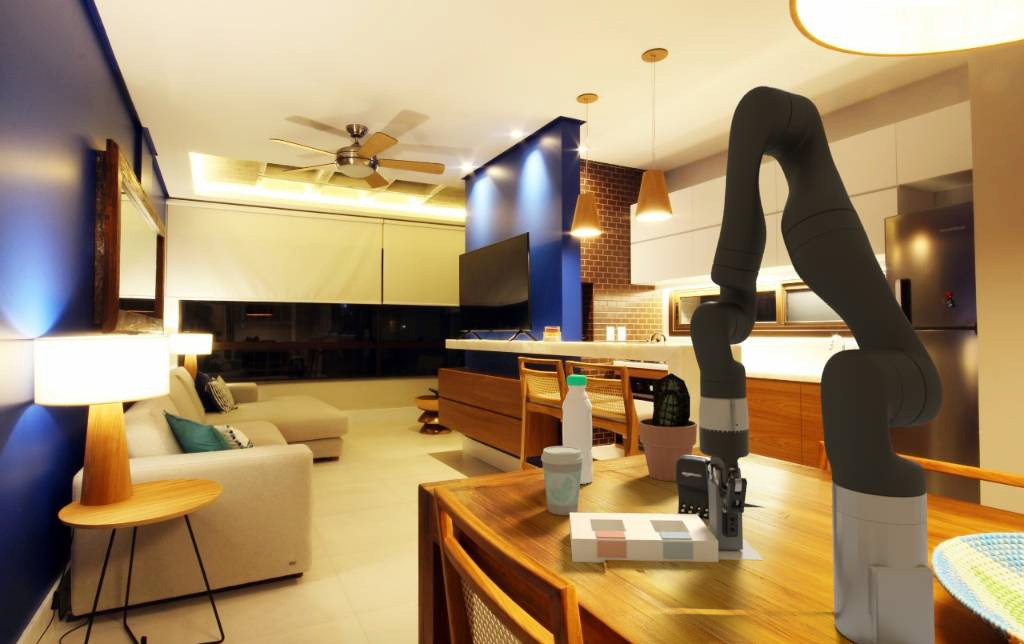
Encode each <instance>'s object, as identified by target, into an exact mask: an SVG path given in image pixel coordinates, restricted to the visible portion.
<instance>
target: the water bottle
mask: <svg viewBox="0 0 1024 644" xmlns="http://www.w3.org/2000/svg"><path fill="white" fill-rule="evenodd" d="M587 379H588V378H587V376H586V375H582V374H571V375H568V376H567V377H566V386H567V388H568V391H567V393H566V395H565V399H564V400H563V402H562V406H561V408H562V428H561V429H562V446H570V447H576V448H579V449H580V450H581V452H582V455H583V459H584V461H583V462H582V470H581V480H580V484H582V485H588V484H591V482H592V481H593V480H594V471H593V460H594V459H593V457H594V455H593V451H592V450H593V417H592V410H593V405H592V402H591V400H590V399H589V396H588V393H587V391H586V388H587V384H588V380H587ZM587 483H588V484H587Z"/></svg>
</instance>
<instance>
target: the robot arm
mask: <svg viewBox="0 0 1024 644" xmlns="http://www.w3.org/2000/svg"><path fill="white" fill-rule="evenodd" d="M764 156H769V157H771V158H774V159H775V160H776V161H777V162H778V165H779V166H780V168H781V170H782V172H783V175H784V177H785V180H786V184H787V187H788V196H787V198H786V201H785V205H784V208H783V211H782V214H781V221H780V231H781V235H782V239H783V243H784V246H785V248H786V250H787V255H788V257H789V259H790V262H791V265H792V266H793V269H794V271H795V273H796V274H797V276H798V277H799V278H800V280H801V281H802V282H803V283H804V284H805V285H806V286H807V288H809V289H810V290H811V291H812V292H813V293H814V294H815V295H816V296H817V297H818V298H819V299H820V300H822V301H823V302H824V303H825V304H826V305H827V307H829V308H830V309H832V310H833V311H834V313H836V314H837V315H838V317H840V318H841V320H842V321H843V322H844V323H845V325H846V326H847V327H848V329H849V331H850V333H851V335H852V336H853V338H854V340H855V342H856V344H857V347H858V348H852V349H851V348H850V349H849V348H848V349H843V350H840V351H837V352H835V353H834V354H832V355H831V356H830V357H829V358H828V360H827V361H826V362H825V364H824V367H823V370H822V373H821V377H820V378H821V379H820V392H819V393H820V407H821V419H822V431H823V446H824V451H825V455H826V458H827V460H828V463H829V466H830V471H831V472H830V473H831V513H832V514H831V517H832V518H831V520H832V521H831V522H832V523H831V525H832V526H831V527H832V567H833V568H832V572H833V578H832V579H833V581H832V582H833V611H834V612H833V616H834V621H833V622H834V627H836V629H837V630H838V632H839V633H840V634H842V635H843V636H844V637H845V638H847V639H849V640H850V641H852V642H854V643H855V644H935V641H936V640H935V609H934V607H935V604H934V602H935V601H934V600H935V599H934V572H933V570H932V568H931V567H929V548H928V546H929V545H928V500H927V499H928V495H927V494H928V493H927V491H928V489H927V488H928V487H927V482H928V481H927V474H926V470H925V468H924V467H923V466H922V465H921V464H920V463H918V462H917V461H915V460H911V459H908V458H906V457H903V456H900V455H898V454H897V453H896V451H894V449H893V445H892V442H891V432H890V428H904V427H907V428H908V427H916V426H921V425H926V424H928V423H930V422H932V421H933V420H935V418H937V416H938V415H939V413H940V411H941V409H942V406H943V401H944V387H943V383H942V379H941V376H940V374H939V371H938V369H937V367H936V364H935V362H934V360H933V358H932V357H931V355H930V354H929V352H928V350H927V349H926V347H925V345H924V343H923V342H922V340H921V339H920V337H919V335H918V334H917V332H916V331H915V329H914V327H913V326H912V324H911V323H910V321H909V319H908V317H907V316H906V314H905V312H904V311H903V309H902V307H901V305H900V303H899V301H898V300H897V298H896V295H895V294H894V291H893V290H892V288H891V286H890V283H889V281H888V279H887V277H886V275H885V274H884V271H883V269H882V267H881V265H880V263H879V260H878V259H877V256H876V255H875V252H874V250H873V247H872V245H871V242H870V239H869V237H868V234H867V232H866V230H865V228H864V226H863V222H862V221H861V219H860V216H859V214H858V212H857V210H856V208H855V207H854V205H853V203H852V201H851V198H850V197H849V193H848V191H847V189H846V187H845V184H844V182H843V179H842V176H841V175H840V172H839V170H838V169H837V166H836V164H835V161H834V159H833V156H832V153H831V150H830V145H829V142H828V138H827V134H826V130H825V127H824V123H823V120H822V118H821V115H820V112H819V110H818V108H817V106H816V105H815V103H814V102H813V101H812V100H811V99H810V98H809V97H807V96H804V95H801V94H799V93H795V92H791V91H787V90H785V89H781V88H777V87H773V86H769V85H758V86H755V87H753V88H751V89H750V90H748V91H747V92H746V93H745V94H744V95H743V96H742V98H740V100H739V102H738V104H737V105H736V107H735V109H734V112H733V115H732V119H731V123H730V128H729V136H728V148H727V161H726V162H727V163H726V172H725V186H724V187H725V191H724V203H723V212H722V214H723V215H722V220H721V226H720V232H719V236H718V240H717V244H716V248H715V253H714V257H713V260H712V266H711V270H710V280H711V281H712V283H714V284H715V285H717V286H718V287H719V301H706V302H703V303H701V304H699V305H698V306H697V307H696V308H695V309H694V310H693V312H692V316H691V317H690V322H689V335H690V339H691V343H692V348H693V351H694V355H695V359H696V360H695V361H696V362H697V365H698V369H699V391H700V392H699V395H700V397H699V398H700V399H699V408H698V431H699V434H698V437H699V439H698V440H699V441H698V442H699V451H700V452H701V453H702V454H703V455H706V456H708V457H710V459H706V460H705V467H706V476H707V486H708V494H709V483H708V479H711V480H714V478H715V479H716V485H717V486H718V496H719V497H720V498H721V507H722V508H721V510H722V533H723V535H724V536H725V537H737V536H738V513H742V514H743V513H744V512H745V507H744V506H745V503H746V497H747V486H748V480H747V478H746V477H742V471H741V467H739V462H738V461H739V459H741V458H746V457H747V456H749V454H750V430H749V429H750V426H749V425H750V423H749V419H750V418H749V417H750V416H749V407H748V402H747V401H748V400H747V399H748V398H747V373H746V372H747V371H746V367H745V365H744V364H743V363H742V362H740V361H738V360H736V359H735V358H734V355H733V352H732V351H733V350H732V345H739V344H741V343H743V342H745V341H747V339H748V338H749V336H750V335H751V334H752V331H753V329H754V327H755V324H756V320H757V308H758V307H757V306H758V305H757V304H758V303H757V299H758V298H757V294H758V290H757V289H758V288H757V280H758V276H759V274H760V273H759V271H760V270H761V266H762V261H763V258H764V255H765V254H764V253H765V250H766V245H767V238H768V237H767V232H768V231H767V221H766V219H765V213H764V208H763V204H762V197H761V192H760V171H761V170H760V169H761V164H762V160H763V157H764ZM722 487H723V489H727V492H723V490H722ZM732 501H734V505H731V504H732Z"/></svg>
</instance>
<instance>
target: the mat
mask: <svg viewBox="0 0 1024 644" xmlns="http://www.w3.org/2000/svg"><path fill="white" fill-rule="evenodd" d="M718 560H729V561H730V560H731V561H732V560H734V561H735V560H736V561H737V560H738V561H739V560H740V561H741V560H742V561H764V559H763V558H762V556H761V555H759V553H758V552H757V551H756V550H755V549H754V548H753V547H752V546H751V545H750V543H749V542H748V541H747V540H746V539H745V538H744V537H743V550H724V549H718Z"/></svg>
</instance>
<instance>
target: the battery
mask: <svg viewBox="0 0 1024 644" xmlns="http://www.w3.org/2000/svg"><path fill="white" fill-rule="evenodd" d="M706 459H711V457H710V458H709V457H706V456H700V455H699V456H698V455H693V454H691V455H683V456H681V457H680V458H679V459H678V460H677V462H676V481H675V484H676V485H677V492H678V504H677V505H678V507H677V512H678V513H677V514H697V515H698V516H699V517H700V519H701V520H702V519H703V520H709V494H708V486H707V476H706V467H705V460H706Z"/></svg>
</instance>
